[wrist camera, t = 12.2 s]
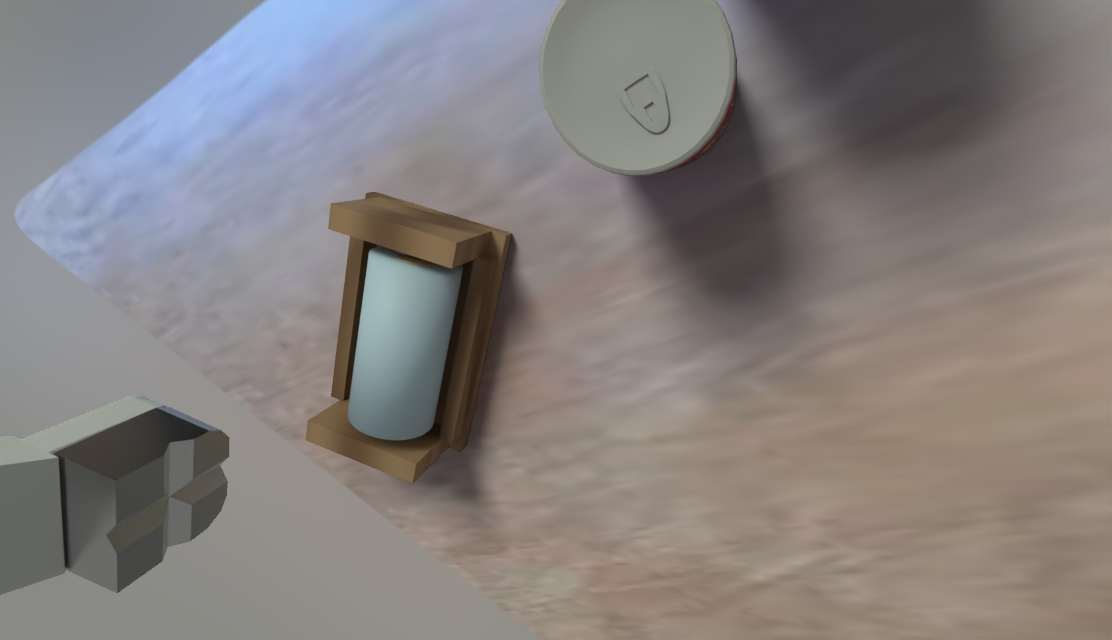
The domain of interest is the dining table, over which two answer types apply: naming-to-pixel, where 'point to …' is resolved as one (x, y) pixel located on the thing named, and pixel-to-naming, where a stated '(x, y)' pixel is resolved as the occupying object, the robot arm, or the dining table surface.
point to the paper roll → (401, 344)
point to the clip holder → (472, 323)
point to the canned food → (639, 81)
